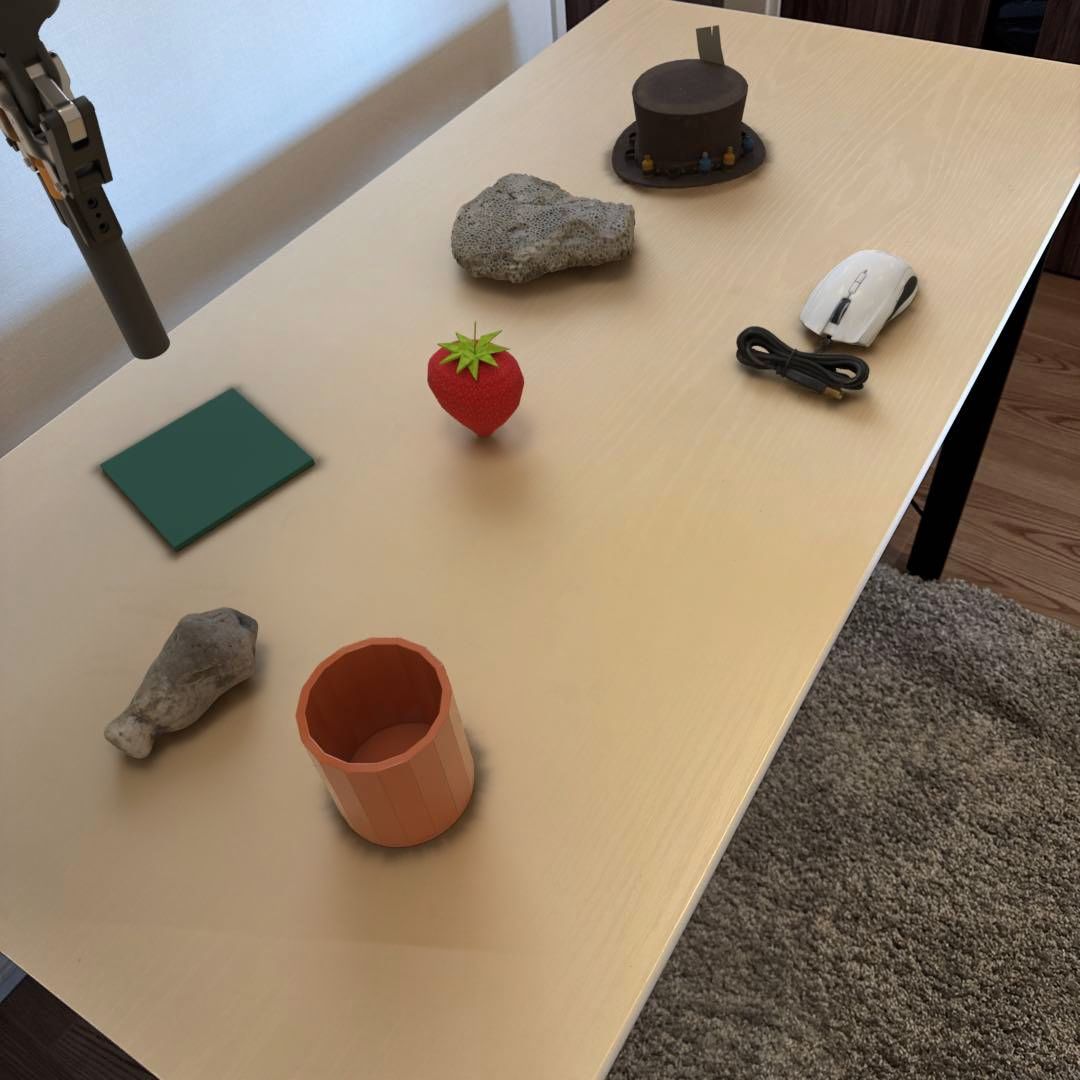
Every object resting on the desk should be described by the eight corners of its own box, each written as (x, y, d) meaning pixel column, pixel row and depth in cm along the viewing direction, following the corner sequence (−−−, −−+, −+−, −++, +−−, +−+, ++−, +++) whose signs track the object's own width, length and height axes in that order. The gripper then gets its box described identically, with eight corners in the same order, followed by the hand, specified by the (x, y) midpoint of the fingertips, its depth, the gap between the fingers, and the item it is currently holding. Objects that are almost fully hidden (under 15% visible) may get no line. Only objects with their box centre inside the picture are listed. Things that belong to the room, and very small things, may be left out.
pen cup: (392, 876, 56) (355, 803, 49) (312, 781, 60) (267, 701, 53) (502, 782, 59) (482, 700, 52) (418, 697, 63) (389, 611, 56)
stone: (136, 786, 62) (203, 745, 57) (67, 726, 60) (129, 678, 56) (226, 679, 69) (291, 635, 65) (167, 623, 68) (229, 574, 63)
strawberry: (465, 394, 81) (445, 289, 73) (546, 423, 78) (534, 317, 70) (422, 441, 78) (396, 337, 70) (505, 473, 75) (488, 368, 67)
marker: (142, 365, 68) (46, 173, 57) (124, 348, 69) (26, 157, 58) (178, 346, 69) (90, 153, 58) (159, 329, 70) (69, 138, 60)
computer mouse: (947, 284, 84) (957, 242, 81) (849, 415, 75) (857, 374, 72) (834, 250, 88) (840, 209, 85) (729, 370, 80) (732, 329, 77)
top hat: (785, 184, 96) (796, 74, 88) (628, 209, 95) (625, 101, 87) (741, 108, 105) (748, 3, 97) (599, 131, 105) (594, 27, 97)
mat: (176, 552, 72) (173, 547, 72) (101, 469, 79) (99, 464, 78) (315, 463, 77) (313, 458, 77) (234, 391, 83) (232, 387, 83)
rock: (630, 301, 86) (629, 250, 83) (444, 303, 88) (435, 254, 85) (638, 203, 96) (637, 153, 92) (469, 207, 98) (462, 159, 94)
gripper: (-180, -87, 51) (-8, 217, 64) (-83, -19, 44) (88, 308, 57) (-37, -132, 54) (99, 168, 67) (76, -76, 47) (204, 248, 60)
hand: (94, 231), depth 62 cm, fingers closed on marker, 2 cm apart
